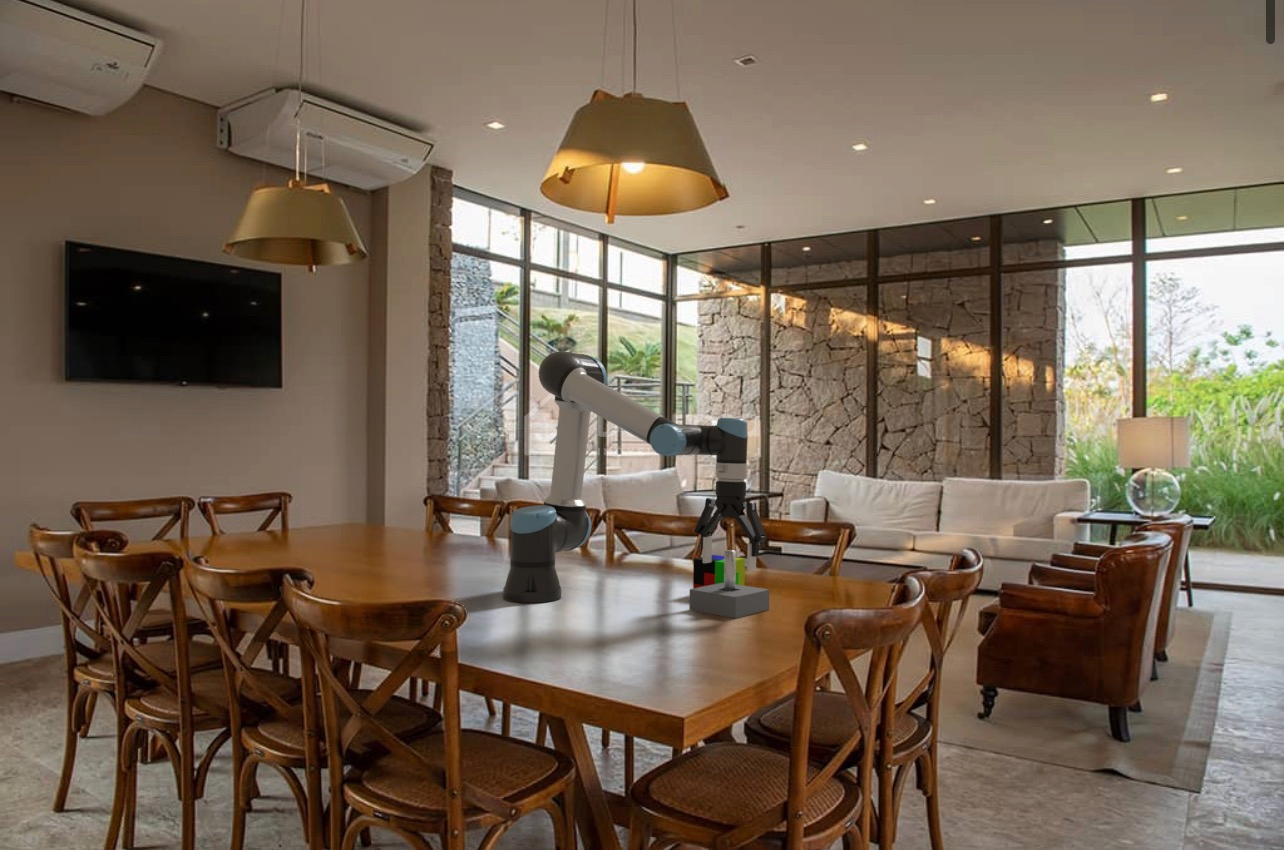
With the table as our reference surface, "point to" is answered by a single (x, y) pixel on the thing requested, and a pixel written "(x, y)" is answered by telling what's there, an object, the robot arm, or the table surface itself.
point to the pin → (729, 570)
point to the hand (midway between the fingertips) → (728, 566)
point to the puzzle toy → (715, 571)
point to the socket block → (729, 600)
